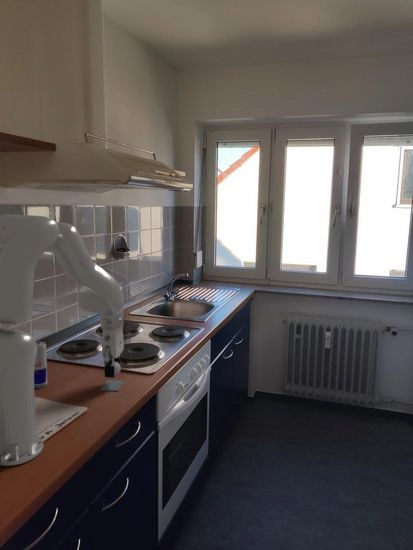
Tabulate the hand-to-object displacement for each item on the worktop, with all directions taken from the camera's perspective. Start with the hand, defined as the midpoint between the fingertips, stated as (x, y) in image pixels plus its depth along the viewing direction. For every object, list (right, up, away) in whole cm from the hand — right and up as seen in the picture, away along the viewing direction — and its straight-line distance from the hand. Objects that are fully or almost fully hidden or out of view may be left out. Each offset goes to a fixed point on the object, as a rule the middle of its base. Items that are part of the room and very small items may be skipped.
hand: (112, 372), depth 147 cm
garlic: (0, -1, 0) cm, 1 cm away
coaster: (0, -5, +1) cm, 5 cm away
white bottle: (-25, -4, 0) cm, 25 cm away
